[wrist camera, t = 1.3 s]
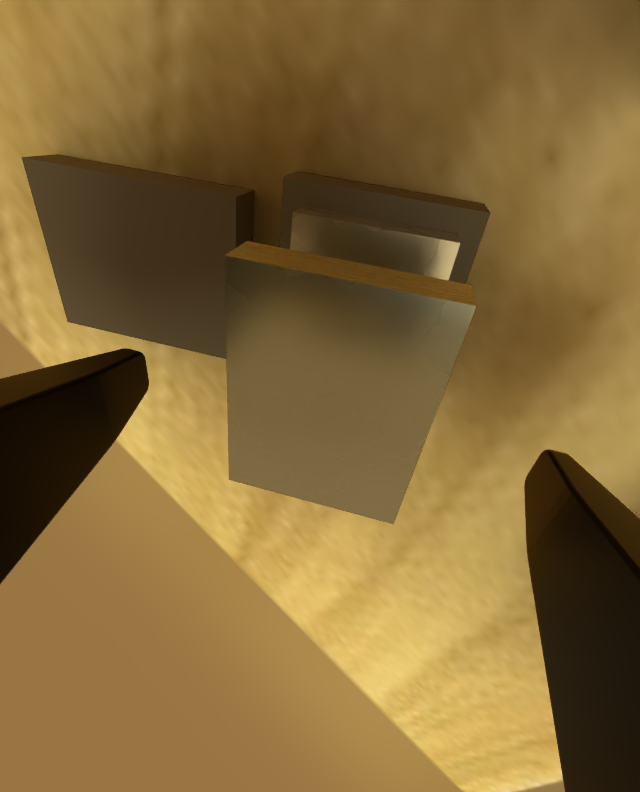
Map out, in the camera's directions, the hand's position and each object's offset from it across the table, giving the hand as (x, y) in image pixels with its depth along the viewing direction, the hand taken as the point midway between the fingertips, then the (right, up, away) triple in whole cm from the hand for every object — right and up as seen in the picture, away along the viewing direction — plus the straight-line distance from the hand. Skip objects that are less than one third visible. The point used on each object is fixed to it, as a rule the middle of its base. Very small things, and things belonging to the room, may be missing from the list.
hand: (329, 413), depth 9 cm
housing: (+1, +3, +4) cm, 5 cm away
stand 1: (-6, +6, +6) cm, 11 cm away
